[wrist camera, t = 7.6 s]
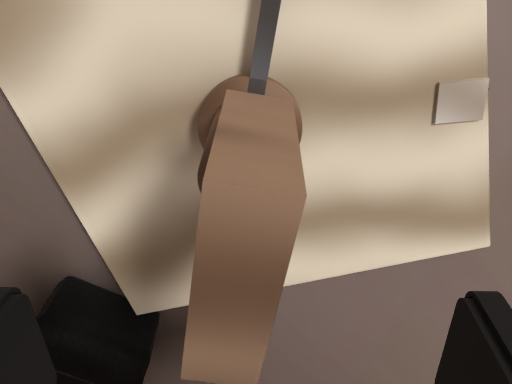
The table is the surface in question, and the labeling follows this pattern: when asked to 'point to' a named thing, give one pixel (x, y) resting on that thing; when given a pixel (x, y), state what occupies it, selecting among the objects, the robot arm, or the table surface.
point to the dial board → (312, 113)
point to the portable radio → (96, 335)
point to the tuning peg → (243, 217)
